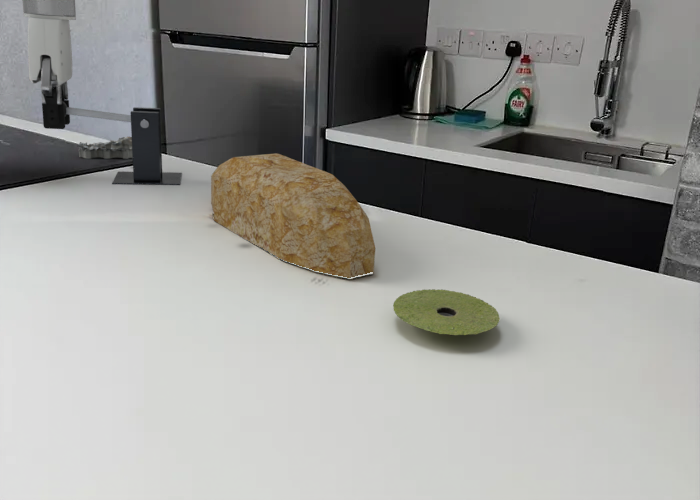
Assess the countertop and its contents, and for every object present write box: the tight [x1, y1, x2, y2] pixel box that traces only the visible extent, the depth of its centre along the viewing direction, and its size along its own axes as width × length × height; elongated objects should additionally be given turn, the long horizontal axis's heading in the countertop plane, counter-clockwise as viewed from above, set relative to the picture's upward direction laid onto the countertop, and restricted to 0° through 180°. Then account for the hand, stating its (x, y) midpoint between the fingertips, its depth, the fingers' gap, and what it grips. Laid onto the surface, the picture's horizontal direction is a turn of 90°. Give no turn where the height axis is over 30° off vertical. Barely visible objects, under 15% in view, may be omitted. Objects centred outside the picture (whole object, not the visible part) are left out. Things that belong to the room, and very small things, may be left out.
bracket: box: [111, 106, 183, 186], centre depth 116 cm, size 11×8×13 cm
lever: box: [62, 101, 131, 123], centre depth 113 cm, size 17×3×3 cm, turn 101°
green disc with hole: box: [392, 288, 501, 336], centre depth 73 cm, size 11×11×2 cm
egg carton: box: [77, 136, 133, 160], centre depth 132 cm, size 11×8×4 cm
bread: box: [210, 152, 376, 278], centre depth 96 cm, size 36×11×10 cm, turn 38°
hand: (57, 125), depth 112 cm, fingers closed on lever, 3 cm apart
